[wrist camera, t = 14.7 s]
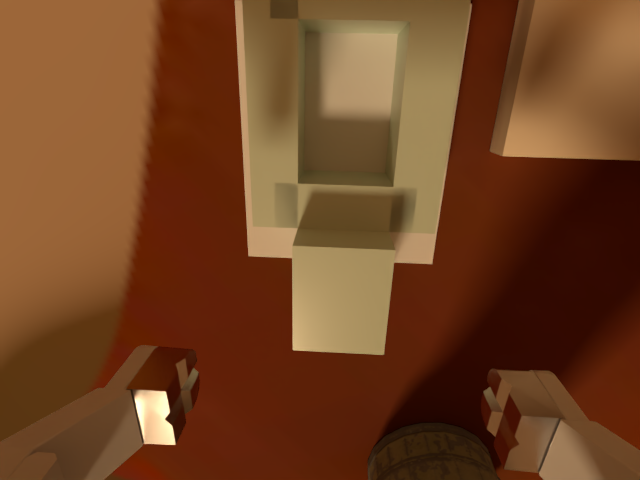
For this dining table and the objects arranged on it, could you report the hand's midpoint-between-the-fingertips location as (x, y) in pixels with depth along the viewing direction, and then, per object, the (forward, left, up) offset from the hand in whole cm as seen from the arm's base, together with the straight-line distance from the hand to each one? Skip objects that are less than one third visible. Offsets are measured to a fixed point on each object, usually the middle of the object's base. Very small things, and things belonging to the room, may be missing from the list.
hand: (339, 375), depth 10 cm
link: (-4, 0, -10) cm, 11 cm away
